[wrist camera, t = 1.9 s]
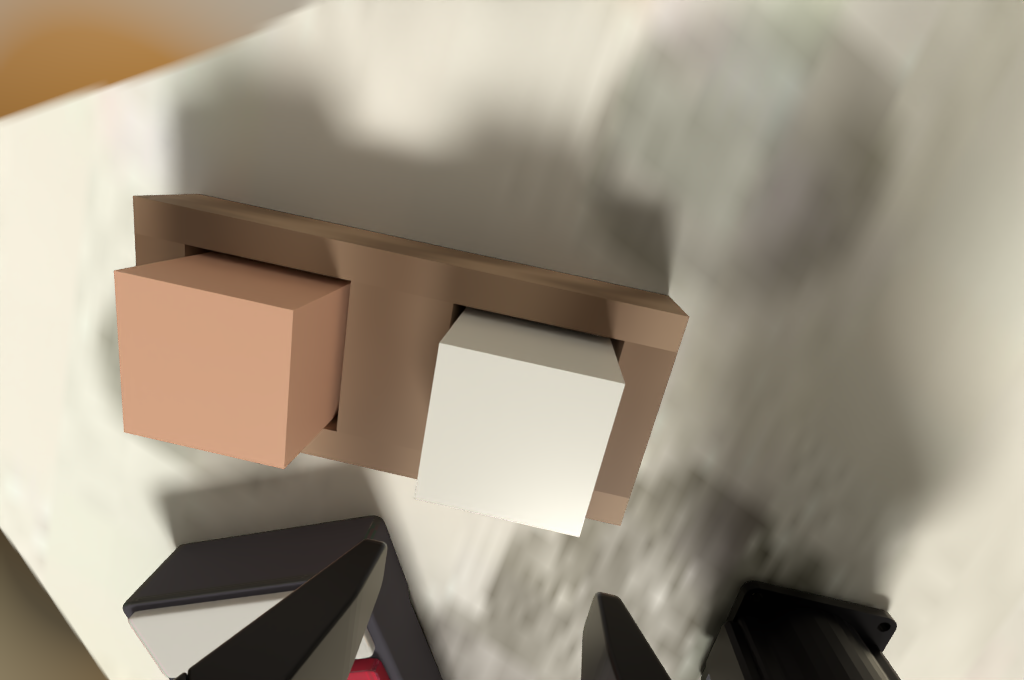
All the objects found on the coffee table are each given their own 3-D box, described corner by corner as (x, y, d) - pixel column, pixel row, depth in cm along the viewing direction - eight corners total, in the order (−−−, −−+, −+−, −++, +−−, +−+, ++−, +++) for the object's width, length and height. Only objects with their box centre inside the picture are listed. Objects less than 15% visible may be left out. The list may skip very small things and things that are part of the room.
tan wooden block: (353, 281, 17) (293, 310, 13) (341, 410, 18) (284, 469, 15) (213, 251, 17) (114, 270, 13) (213, 381, 18) (124, 432, 15)
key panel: (668, 295, 18) (689, 316, 15) (611, 478, 20) (620, 525, 18) (198, 193, 18) (133, 195, 16) (200, 384, 21) (143, 416, 18)
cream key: (610, 338, 17) (625, 383, 13) (574, 463, 18) (579, 536, 14) (466, 306, 17) (439, 342, 13) (444, 433, 18) (414, 499, 14)
